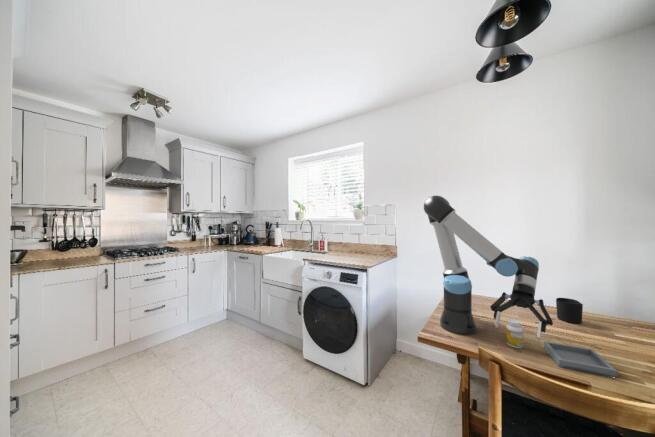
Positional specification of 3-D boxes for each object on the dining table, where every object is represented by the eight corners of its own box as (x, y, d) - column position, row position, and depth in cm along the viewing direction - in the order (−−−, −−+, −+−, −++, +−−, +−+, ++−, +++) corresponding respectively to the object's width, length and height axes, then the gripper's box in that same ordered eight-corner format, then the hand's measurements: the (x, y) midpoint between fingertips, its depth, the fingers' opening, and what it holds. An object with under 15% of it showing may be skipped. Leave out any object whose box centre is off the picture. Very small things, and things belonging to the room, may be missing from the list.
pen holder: (587, 322, 116) (586, 302, 116) (576, 326, 113) (576, 305, 113) (562, 315, 125) (562, 296, 125) (552, 318, 121) (551, 299, 121)
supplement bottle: (506, 340, 100) (506, 317, 100) (523, 344, 96) (522, 320, 96) (505, 345, 95) (505, 321, 95) (523, 350, 92) (523, 325, 92)
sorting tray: (559, 366, 81) (559, 359, 81) (543, 347, 94) (543, 340, 94) (617, 378, 75) (617, 371, 75) (592, 356, 88) (592, 349, 88)
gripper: (564, 299, 97) (560, 349, 87) (492, 286, 116) (483, 326, 106) (562, 289, 93) (558, 339, 84) (489, 277, 112) (478, 317, 103)
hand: (516, 332), depth 95 cm, fingers open, 13 cm apart
